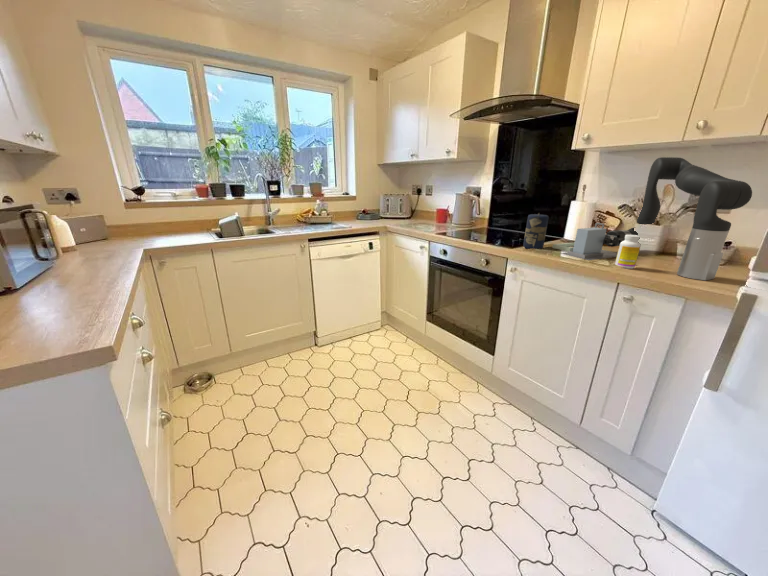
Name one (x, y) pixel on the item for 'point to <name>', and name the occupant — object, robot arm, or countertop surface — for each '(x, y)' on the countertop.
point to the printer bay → (592, 255)
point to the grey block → (589, 240)
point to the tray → (564, 246)
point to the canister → (535, 231)
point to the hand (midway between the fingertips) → (594, 240)
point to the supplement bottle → (628, 252)
